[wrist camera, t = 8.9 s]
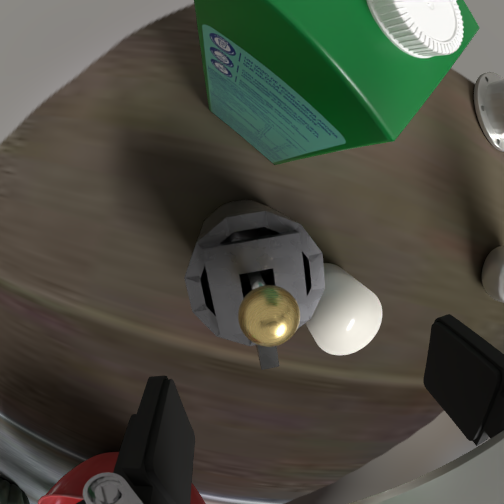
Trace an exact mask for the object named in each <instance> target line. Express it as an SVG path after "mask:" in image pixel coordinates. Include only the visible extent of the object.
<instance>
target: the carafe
mask: <svg viewBox="0 0 504 504" xmlns="http://www.w3.org/2000/svg"><path fill="white" fill-rule="evenodd" d="M260 227H266V228H267V229H268V230H269V231H270V232H271V233H272V235H267V236H261V237H256V238H250V239H244V240H238V241H233V242H227V243H221V242H222V241H223V240H224V239H226V238H227V237H228V236H229V235H230V234H232V233H233V232H236V231H242V230H248V229H254V228H260ZM220 243H221V244H220ZM266 269H272V270H271V271H270V272H269V273H268V274H267V275H266V276H264V277H263V281H264V283H265V285H273V286H278V287H281V288H283V289H285V290H287V291H288V292H289V293H290V294H291V295H292V296H293V297H294V298H295V300H296V301H297V303H298V306H299V310H300V322H299V326H298V328H299V327H301V326H302V325H303V324H304V323H306V322H307V321H308V320H310V319H311V317H312V315H313V313H314V311H315V309H316V307H317V305H318V303H319V300H320V298H321V296H322V294H323V292H324V289H325V276H324V265H323V254H322V252H321V251H320V249H319V248H318V247H317V245H316V244H315V242H314V241H313V240H312V238H311V237H310V236H309V234H308V233H307V232H306V231H305V229H304V228H303V227H302V225H301V224H299V223H298V222H296V221H294V220H292V219H291V218H289V217H287V216H285V215H284V214H282V213H280V212H278V211H277V210H275V209H273V208H271V207H268V206H266V205H263V204H261V203H258V202H255V201H252V200H250V199H248V200H240V201H234V202H230V203H225V204H223V205H222V206H221V207H219V208H218V209H216V210H215V211H214V212H213V213H212V214H211V215H210V216H209V217H207V218H206V219H205V220H204V223H203V226H202V228H201V231H200V234H199V237H198V240H197V243H196V246H195V248H194V251H193V254H192V257H191V260H190V263H189V266H188V269H187V272H186V275H185V282H186V286H187V291H188V295H189V299H190V303H191V307H192V311H193V313H194V314H195V315H196V316H197V317H198V318H199V319H200V320H201V321H202V322H203V323H204V324H205V325H206V326H207V327H208V328H209V329H210V330H211V331H212V332H213V333H214V334H215V335H216V336H217V337H221V338H224V339H227V340H231V341H234V342H238V343H241V344H245V345H248V346H252V345H256V347H257V352H258V356H259V360H260V365H261V369H262V370H263V369H268V368H273V367H278V366H279V361H278V354H277V347H276V346H272V347H266V346H261V345H258V344H255V343H253V342H252V341H250V340H249V339H248V338H247V337H246V336H245V335H244V333H243V332H242V330H241V328H240V325H239V321H238V311H239V307H240V304H241V302H242V300H243V299H244V297H245V296H246V295H247V294H248V293H249V292H250V291H252V287H251V284H250V282H249V283H242V282H240V276H239V274H244V273H250V272H255V271H261V270H266ZM298 328H297V329H298Z"/></svg>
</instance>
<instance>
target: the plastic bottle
mask: <svg viewBox="0 0 504 504" xmlns="http://www.w3.org/2000/svg"><path fill="white" fill-rule="evenodd" d="M482 284H483V287H484V289H485V291H486V293H487V294H488V295H490V296H491V297H492V298H493V299H494V300H497V301H500V302H503V303H504V246H499V247H497V248H495V249H493V250H492V251H491V252H490V253H489V254H488V256H487V258H486V259H485V262H484V265H483V269H482Z"/></svg>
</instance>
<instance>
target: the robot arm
mask: <svg viewBox="0 0 504 504" xmlns="http://www.w3.org/2000/svg"><path fill="white" fill-rule="evenodd" d="M474 103H475V109H476V113H477V117H478V120H479V123H480V126H481V128H482V130H483V132H484V134H485V136H486V137H487V139H488V140H489V142H490V143H491V144H492V145H493V146H494V147H495V148H496V149H497V150H499V151H501V152H504V79H503V78H502V77H501V76H499V75H497V74H495V73H491V72H489V73H484V74H482V75H481V76H480V77H479V78H478V79H477V81H476V84H475V88H474ZM424 385H425V387H426V389H427V390H428V391H429V392H430V394H431V395H432V396H433V397H434V398H435V399H436V401H437V402H438V403H439V404H440V406H441V407H442V408H443V409H444V410H445V411H446V413H447V414H448V415H449V416H450V418H451V419H452V420H453V421H454V423H455V424H456V425H457V426H458V427H459V429H460V430H461V431H462V433H463V434H464V435H465V436H466V438H467V439H468V440H470V441H473V442H474V443H475V444H476V446H477V445H479V444H480V443H482V442H484V441H485V440H487V439H488V437H490V438H491V439H489V440H488V441H486V442H485V443H483V444H482V445H480V446H478V447H477V448H475V449H473V450H472V451H470V452H468V453H466V454H465V455H463V456H461V457H459V458H457V459H456V460H454V461H452V462H450V463H448V464H446V465H444V466H442V467H440V468H438V469H436V470H434V471H432V472H430V473H428V474H426V475H424V476H422V477H419V478H417V479H415V480H412V481H410V482H408V483H405V484H403V485H400V486H398V487H395V488H393V489H390V490H387V491H385V492H382V493H379V494H376V495H374V496H371V497H368V498H365V499H362V500H358V501H355V502H352V503H348V504H504V354H502V353H501V352H500V351H499V350H497V349H496V348H495V347H493V346H492V345H491V344H489V343H488V342H487V341H486V340H484V339H483V338H482V337H480V336H479V335H478V334H476V333H475V332H474V331H472V330H471V329H470V328H468V327H467V326H465V325H464V324H463V323H461V322H460V321H459V320H457V319H456V318H455V317H453V316H452V315H450V314H449V315H445V316H442V317H439V318H437V319H436V320H435V322H434V324H433V325H432V328H431V336H430V343H429V350H428V357H427V363H426V369H425V374H424ZM194 445H195V436H194V432H193V429H192V427H191V424H190V422H189V420H188V417H187V415H186V412H185V410H184V407H183V405H182V402H181V399H180V397H179V394H178V391H177V389H176V386H175V383H174V381H173V380H172V379H169V380H168V378H167V376H155V377H149V379H148V382H147V384H146V387H145V390H144V394H143V397H142V400H141V403H140V406H139V409H138V412H137V414H133V415H132V416H131V418H130V420H129V423H128V426H127V429H126V432H125V436H124V439H123V442H122V445H121V448H120V451H119V454H118V458H117V461H116V464H115V467H114V471H113V473H110V472H106V473H100V474H97V475H95V476H93V477H92V478H90V479H89V480H88V481H87V483H86V484H85V486H84V488H83V497H84V499H83V500H82V501H80V502H78V503H76V504H190V500H191V485H192V471H193V458H194Z"/></svg>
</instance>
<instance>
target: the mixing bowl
mask: <svg viewBox="0 0 504 504" xmlns="http://www.w3.org/2000/svg"><path fill="white" fill-rule="evenodd" d="M118 454H119V452H108V453H103V454H99V455H96V456H93V457H91V458H89V459H88V460H86V461H84V462H82V463H81V464H79V465H78V466H76V467H75V468H73V469H72V470H71V471H69V472H68V473H67V474H66V475H64V476H63V477H62V478H61V479H60V480H59V481H58V482H57V483H56V484H55V485H54V486H53V487H52V488H51V489H50V490H49V491H48V493H47V494H46V495H45V496H42V497H41V498H40V499H39V500H38V504H76V503H78V502H80V501H82V500H83V499H84V497H83V488H84V486H85V484H86V483H87V481H88V480H89V479H90V478H92V477H93V476H95V475H97V474H100V473H106V472H110V473H113V471H114V467H115V464H116V461H117V458H118ZM190 504H205V502H204V500H203V499H202V497H201V495H200V494H199V492H198V491H197V489H196V488H195V486H194V485H193V484H192V485H191V500H190Z"/></svg>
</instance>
